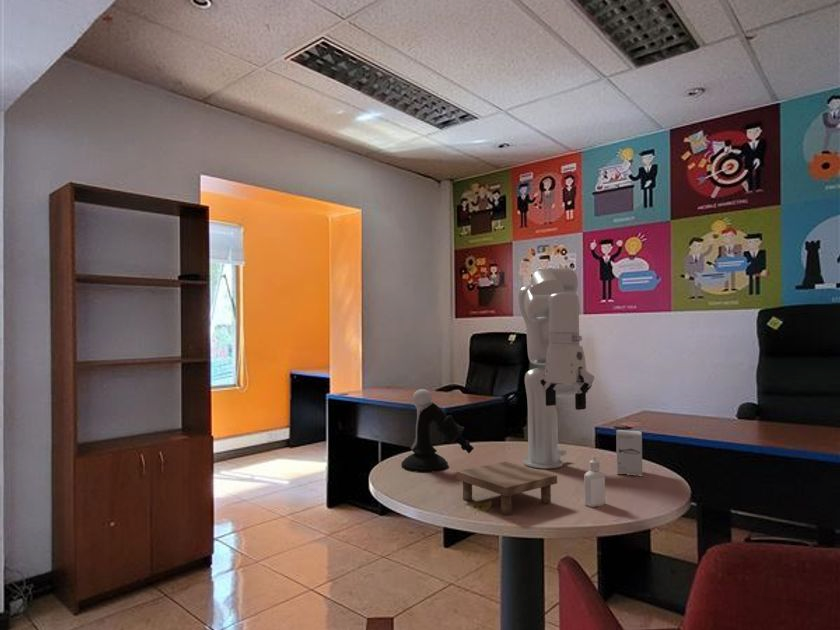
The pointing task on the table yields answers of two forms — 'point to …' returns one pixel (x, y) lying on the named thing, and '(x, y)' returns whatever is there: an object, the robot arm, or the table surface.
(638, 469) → the supplement box
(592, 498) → the eye dropper bottle
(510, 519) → the table surface
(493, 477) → the walnut stool
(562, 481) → the table surface
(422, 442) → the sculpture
